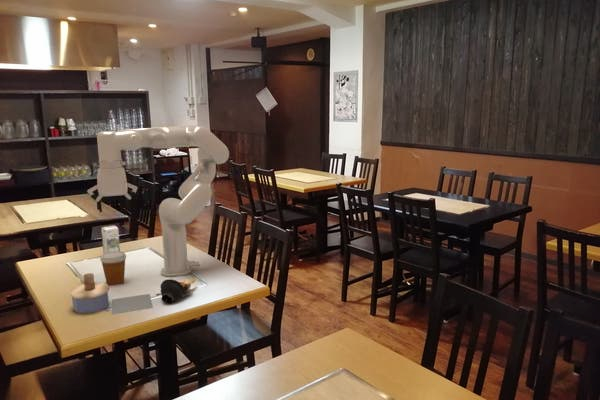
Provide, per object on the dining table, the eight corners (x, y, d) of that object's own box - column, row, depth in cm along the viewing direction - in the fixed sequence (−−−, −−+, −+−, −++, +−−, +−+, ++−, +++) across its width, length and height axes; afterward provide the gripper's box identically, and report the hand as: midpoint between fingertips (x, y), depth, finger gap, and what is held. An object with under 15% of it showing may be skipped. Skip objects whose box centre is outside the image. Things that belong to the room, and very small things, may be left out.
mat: (149, 295, 167) (149, 293, 167) (152, 309, 155) (152, 307, 155) (111, 301, 162) (111, 299, 162) (112, 315, 150) (111, 314, 150)
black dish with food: (149, 294, 157) (168, 262, 172) (167, 316, 161) (184, 283, 177) (170, 287, 154) (188, 255, 169) (188, 310, 158) (203, 276, 174)
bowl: (108, 299, 163) (107, 283, 162) (108, 311, 153) (107, 295, 152) (75, 304, 159) (73, 288, 158) (72, 317, 149) (70, 300, 148)
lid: (109, 283, 163) (107, 267, 162) (109, 295, 152) (107, 278, 151) (71, 288, 158) (70, 271, 157) (69, 301, 147) (67, 283, 146)
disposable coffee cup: (109, 290, 172) (106, 260, 169) (98, 283, 178) (95, 254, 176) (132, 283, 179) (130, 254, 176) (121, 277, 185) (119, 249, 183)
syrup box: (115, 254, 215) (113, 224, 212) (120, 257, 210) (118, 227, 208) (103, 257, 211) (100, 227, 208) (108, 260, 207) (105, 229, 204)
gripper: (135, 162, 173) (138, 206, 176) (85, 165, 166) (89, 210, 170) (136, 165, 166) (139, 210, 169) (84, 167, 160) (89, 214, 163)
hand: (114, 210), depth 170 cm, fingers open, 9 cm apart
